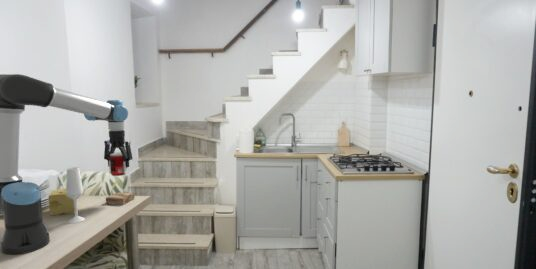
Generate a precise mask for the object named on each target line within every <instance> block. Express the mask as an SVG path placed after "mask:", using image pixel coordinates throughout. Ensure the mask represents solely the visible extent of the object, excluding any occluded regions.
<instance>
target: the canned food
mask: <svg viewBox="0 0 536 269" xmlns="http://www.w3.org/2000/svg"><path fill="white" fill-rule="evenodd" d="M124 161H125V160H124V158H123V154H122V153H121V151H120V152H114V153H113V154H110V165H111V173H110V174H111V176H113V177H120V176H125V175H126V174H124V164H123V162H124Z"/></svg>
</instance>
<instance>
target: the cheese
mask: <svg viewBox="0 0 536 269" xmlns="http://www.w3.org/2000/svg"><path fill="white" fill-rule="evenodd" d="M48 208H49V215H50V216H58V215H63V214H66V215H67V214H68V215H69V214H75V208H74V200H73V199H71V198H70V197H68V196H67V194H66V188H64V189H57V190H56V189H53V190H51V193H50V194H49V195H48Z"/></svg>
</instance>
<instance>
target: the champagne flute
mask: <svg viewBox="0 0 536 269" xmlns="http://www.w3.org/2000/svg"><path fill="white" fill-rule="evenodd" d="M65 184H66V186H65V187H66V188H65V189H66V194H67V196H68V197H70V198H71V199H73V200H74V208H75V211H74V217H72V218H71V219H69V220H68V223H70V224H77V223H81V222H83V221H86V218H85V217H83V216H80V215H79V210H78V199H79V198H80V197H81V196H82V195H84V194H83V193H84V187H83V183H82V178H81V172H80V167H77V166H76V167H75V166H74V167H68V168H66V183H65Z"/></svg>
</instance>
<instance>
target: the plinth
mask: <svg viewBox="0 0 536 269" xmlns="http://www.w3.org/2000/svg"><path fill="white" fill-rule="evenodd" d="M134 198H135V193H132V192H116V193H114V194H111V195H109V196H107V197H105V204H106V203H110V204H109V205H119V204H120V205H122V206H123V205H125V204H128V203H129V201H130V202H131V201H133V200H135V199H134Z"/></svg>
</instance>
